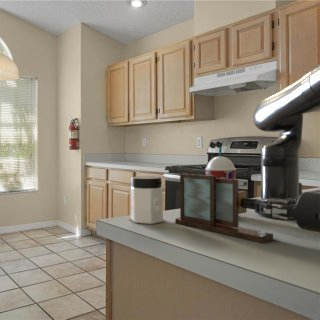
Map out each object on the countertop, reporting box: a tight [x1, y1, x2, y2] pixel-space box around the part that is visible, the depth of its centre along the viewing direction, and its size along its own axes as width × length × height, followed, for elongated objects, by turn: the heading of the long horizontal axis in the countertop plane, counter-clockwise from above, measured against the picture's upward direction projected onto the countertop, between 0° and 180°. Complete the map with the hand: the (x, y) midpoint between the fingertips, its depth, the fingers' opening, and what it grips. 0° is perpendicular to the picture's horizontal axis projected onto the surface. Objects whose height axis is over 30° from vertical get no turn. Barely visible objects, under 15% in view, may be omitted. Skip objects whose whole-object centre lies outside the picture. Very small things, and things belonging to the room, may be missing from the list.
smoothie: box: [204, 146, 237, 179], centre depth 97 cm, size 8×8×20 cm
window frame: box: [175, 173, 274, 244], centre depth 79 cm, size 23×4×13 cm, turn 33°
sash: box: [216, 178, 248, 227], centre depth 81 cm, size 9×4×11 cm, turn 33°
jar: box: [130, 175, 164, 225], centre depth 91 cm, size 9×8×12 cm
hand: (242, 202), depth 77 cm, fingers closed
